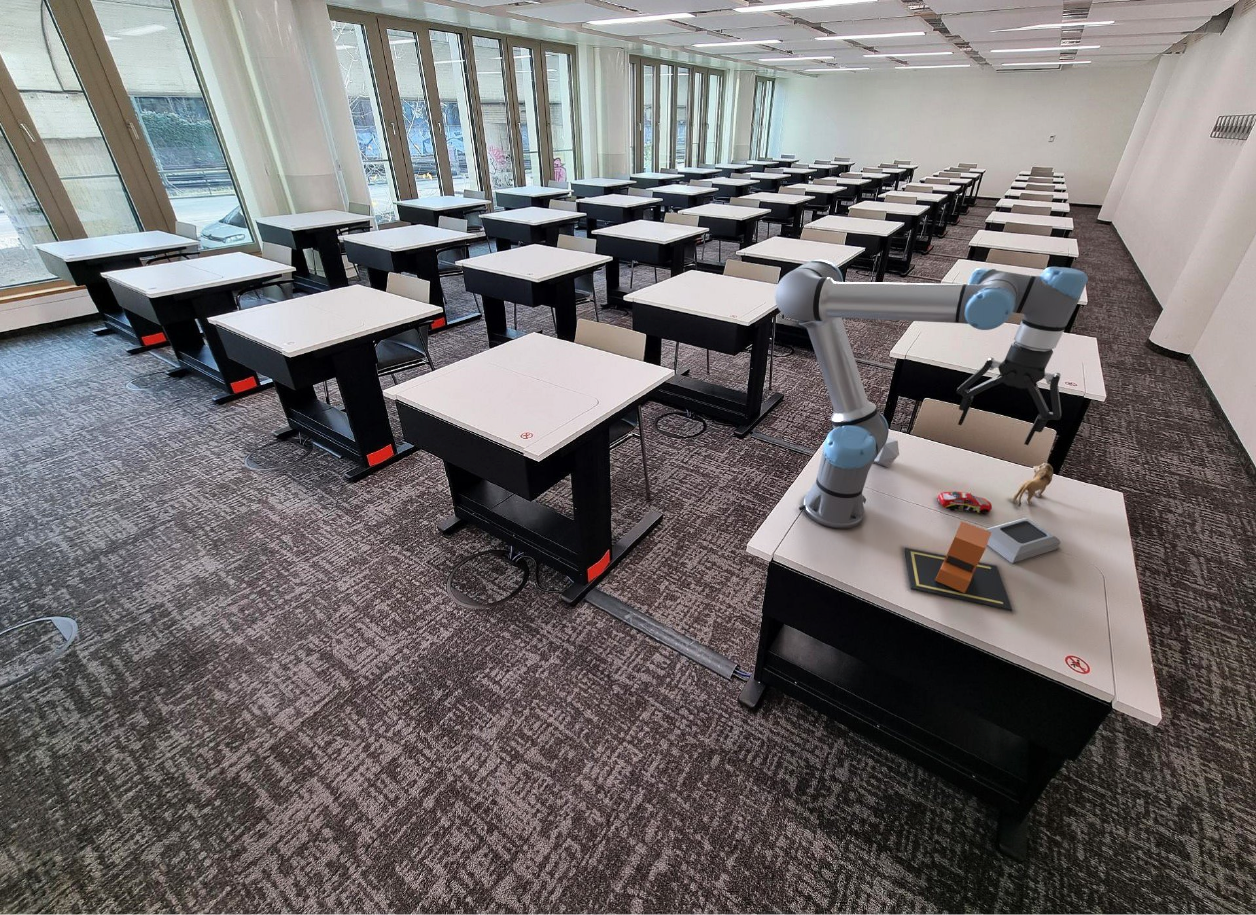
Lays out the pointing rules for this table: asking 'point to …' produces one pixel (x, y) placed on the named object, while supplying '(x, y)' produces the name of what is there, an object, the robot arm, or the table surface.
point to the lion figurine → (1035, 483)
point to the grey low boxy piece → (1021, 540)
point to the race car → (964, 502)
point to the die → (888, 453)
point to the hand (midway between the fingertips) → (992, 432)
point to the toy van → (963, 556)
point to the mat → (980, 589)
